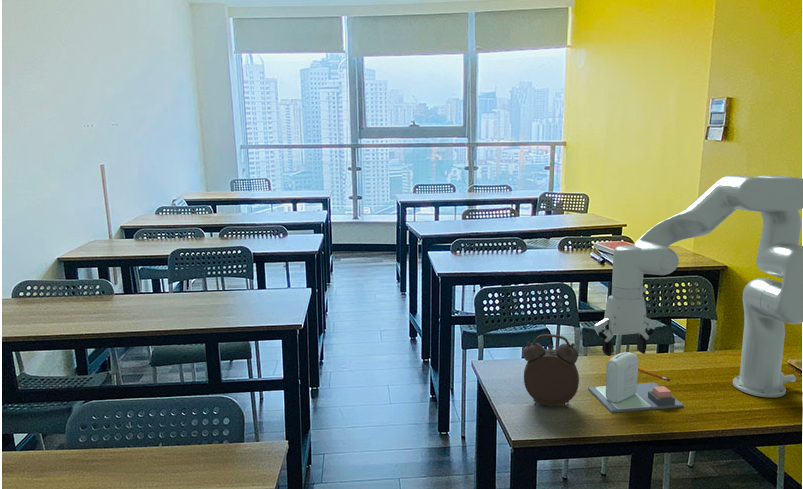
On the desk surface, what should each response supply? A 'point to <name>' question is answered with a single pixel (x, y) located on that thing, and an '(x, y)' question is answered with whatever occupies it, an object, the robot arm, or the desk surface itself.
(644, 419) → the desk surface
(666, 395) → the button
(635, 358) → the photo printer
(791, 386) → the desk surface
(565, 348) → the alarm clock
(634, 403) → the activity board
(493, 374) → the desk surface
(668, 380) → the pencil
